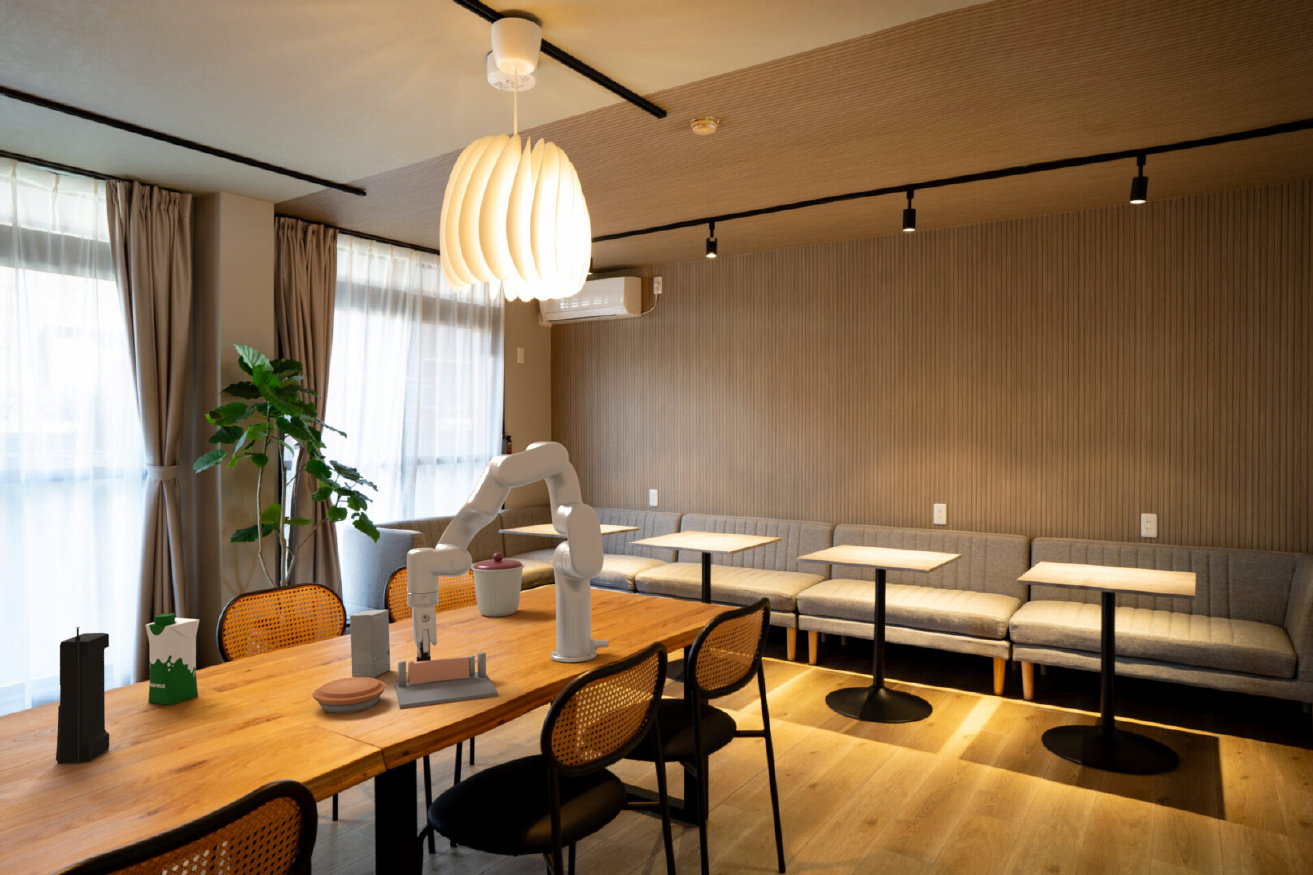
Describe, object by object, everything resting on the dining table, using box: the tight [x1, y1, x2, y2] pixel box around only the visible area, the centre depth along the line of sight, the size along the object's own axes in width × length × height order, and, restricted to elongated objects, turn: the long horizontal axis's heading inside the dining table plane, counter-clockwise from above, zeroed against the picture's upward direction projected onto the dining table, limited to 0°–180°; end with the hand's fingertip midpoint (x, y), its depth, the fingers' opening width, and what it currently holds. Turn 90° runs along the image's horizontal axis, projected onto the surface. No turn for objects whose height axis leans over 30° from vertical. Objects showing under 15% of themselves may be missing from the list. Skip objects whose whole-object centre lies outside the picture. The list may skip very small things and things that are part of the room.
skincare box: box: [349, 609, 391, 679], centre depth 200 cm, size 8×7×16 cm
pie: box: [312, 677, 387, 714], centre depth 176 cm, size 15×16×5 cm
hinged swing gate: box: [394, 651, 499, 709], centre depth 185 cm, size 22×18×6 cm
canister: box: [470, 552, 525, 617], centre depth 270 cm, size 18×18×21 cm
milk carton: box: [145, 612, 200, 706], centre depth 181 cm, size 9×9×20 cm
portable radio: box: [55, 626, 110, 765], centre depth 148 cm, size 8×6×25 cm
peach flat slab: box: [407, 655, 476, 684], centre depth 190 cm, size 16×1×5 cm, turn 112°
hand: (423, 672), depth 194 cm, fingers closed
